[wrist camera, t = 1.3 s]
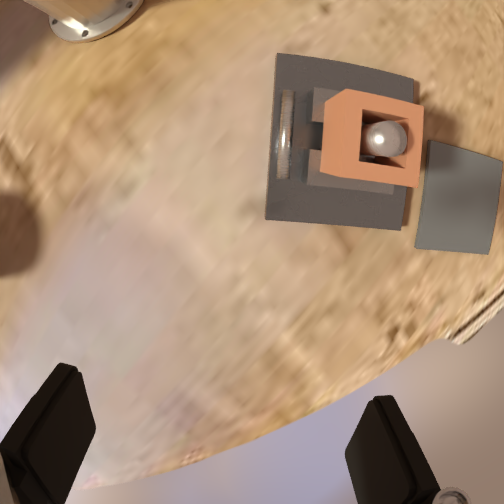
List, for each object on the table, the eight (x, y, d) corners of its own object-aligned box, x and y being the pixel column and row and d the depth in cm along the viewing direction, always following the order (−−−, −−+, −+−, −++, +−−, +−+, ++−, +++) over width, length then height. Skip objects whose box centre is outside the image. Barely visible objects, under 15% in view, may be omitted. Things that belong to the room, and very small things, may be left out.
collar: (324, 102, 24) (346, 88, 18) (389, 113, 24) (423, 106, 18) (319, 171, 26) (339, 176, 20) (384, 180, 26) (417, 188, 20)
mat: (428, 140, 29) (430, 140, 28) (499, 161, 29) (502, 161, 29) (414, 247, 32) (416, 248, 32) (485, 253, 33) (488, 254, 32)
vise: (275, 57, 26) (290, 8, 15) (406, 81, 27) (470, 58, 16) (264, 216, 31) (274, 251, 20) (394, 227, 32) (454, 262, 21)
